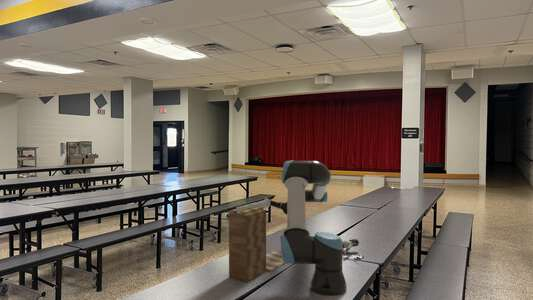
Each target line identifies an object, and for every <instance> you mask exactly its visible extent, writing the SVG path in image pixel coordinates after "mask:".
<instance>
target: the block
mask: <svg viewBox="0 0 533 300" xmlns="http://www.w3.org/2000/svg"><path fill="white" fill-rule="evenodd" d="M270 200H271V199H270ZM270 200H264V199H263V200H259V201H255V202H252V203H248V204H244V205H239V206H237V207H236V206H235V209H236V214H241V212H242V211H245V210H249V209H253V208H256V207H260V206H263V209H265V208H269V207H271V206H270Z"/></svg>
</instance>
